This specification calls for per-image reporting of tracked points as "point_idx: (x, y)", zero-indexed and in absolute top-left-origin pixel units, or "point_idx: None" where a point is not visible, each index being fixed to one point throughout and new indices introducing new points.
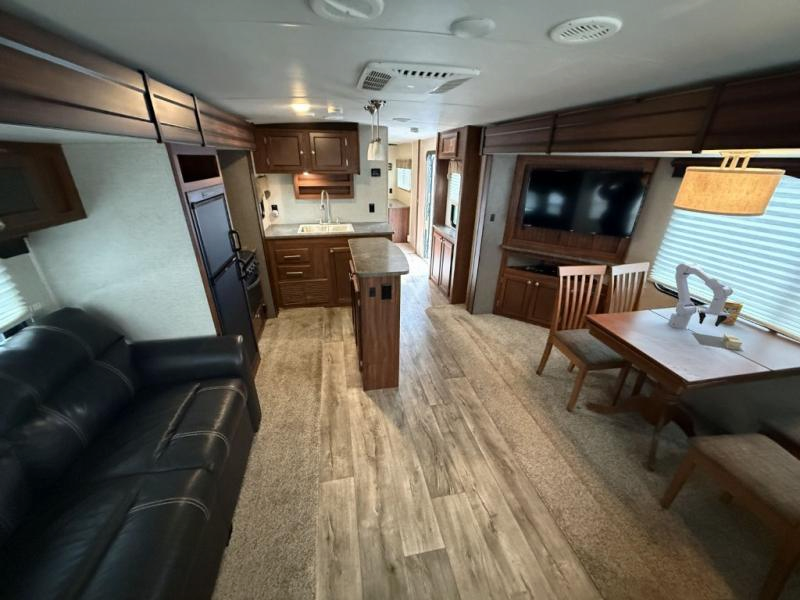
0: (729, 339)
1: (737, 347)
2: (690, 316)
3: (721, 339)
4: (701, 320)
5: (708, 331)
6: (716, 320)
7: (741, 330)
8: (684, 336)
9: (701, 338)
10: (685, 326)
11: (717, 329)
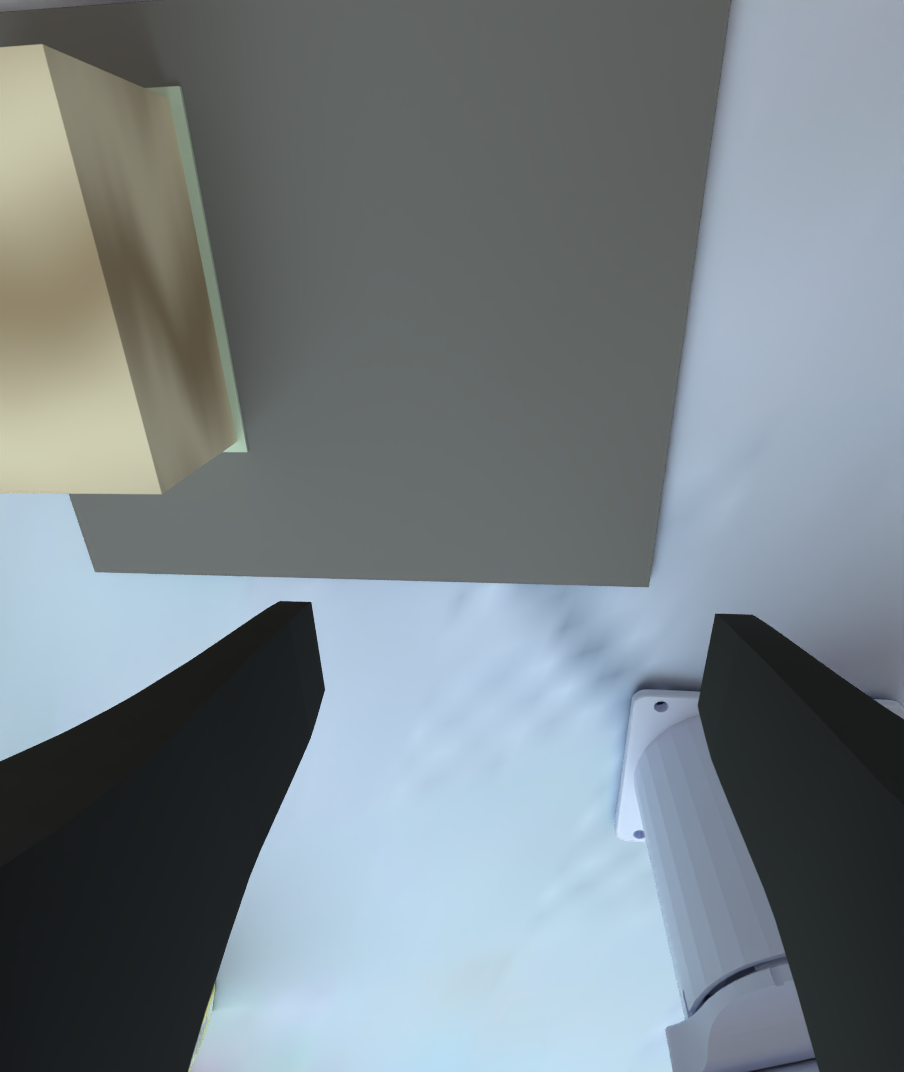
0: (75, 180)
1: None
2: (749, 985)
3: (232, 488)
4: (878, 703)
5: (355, 722)
6: (214, 991)
7: None
8: (867, 363)
9: (564, 376)
10: (695, 740)
11: None
